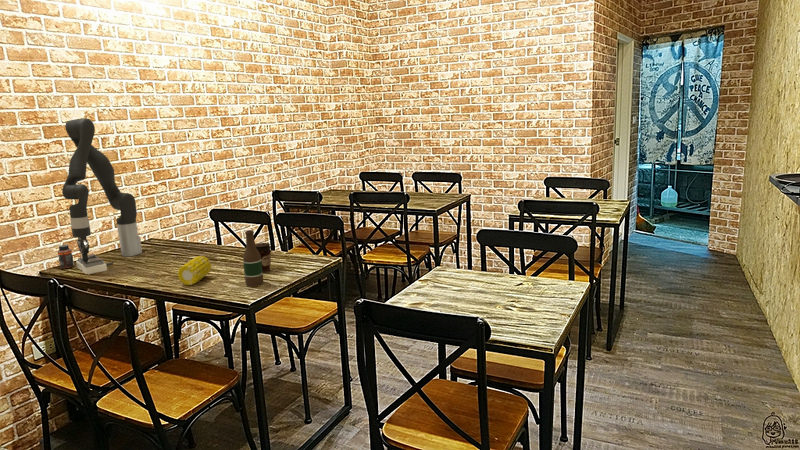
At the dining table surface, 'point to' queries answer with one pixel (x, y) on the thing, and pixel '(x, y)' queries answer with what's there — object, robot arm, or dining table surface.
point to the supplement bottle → (65, 257)
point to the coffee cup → (264, 255)
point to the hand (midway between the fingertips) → (85, 261)
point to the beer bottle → (252, 262)
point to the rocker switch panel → (92, 266)
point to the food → (194, 270)
